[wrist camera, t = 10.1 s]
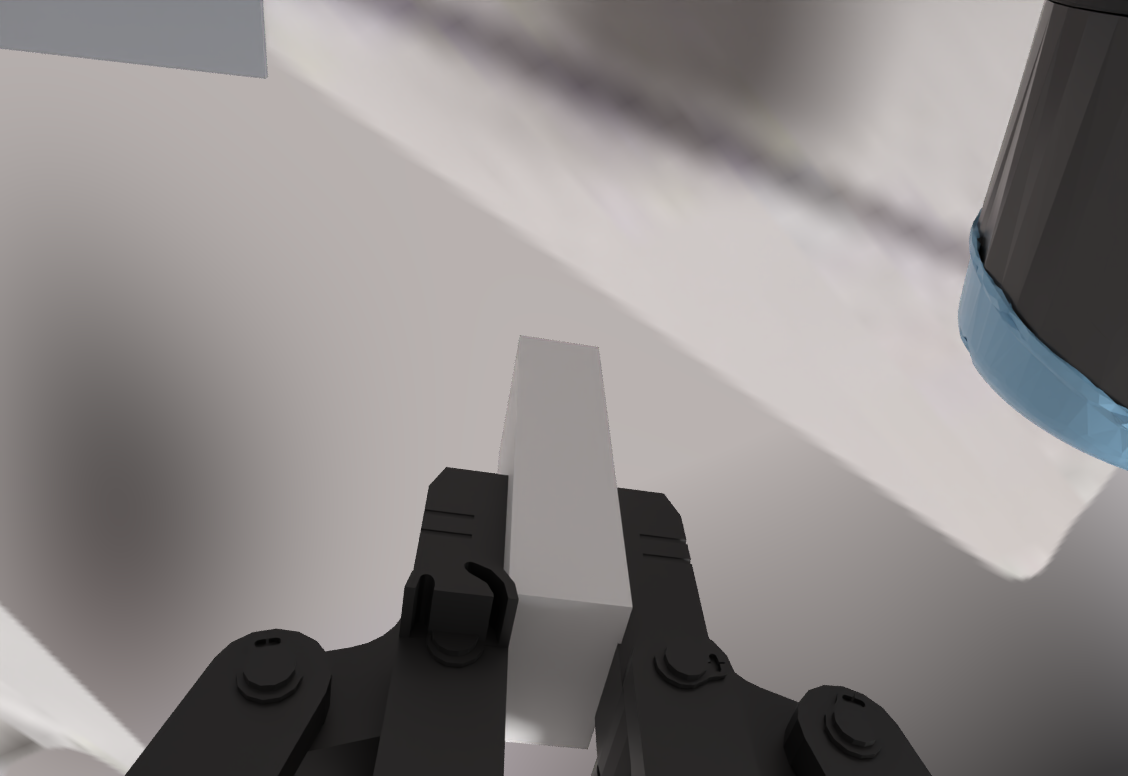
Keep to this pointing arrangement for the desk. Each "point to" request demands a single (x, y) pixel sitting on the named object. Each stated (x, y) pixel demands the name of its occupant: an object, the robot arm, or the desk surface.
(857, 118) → the desk surface
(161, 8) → the mat
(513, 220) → the desk surface
